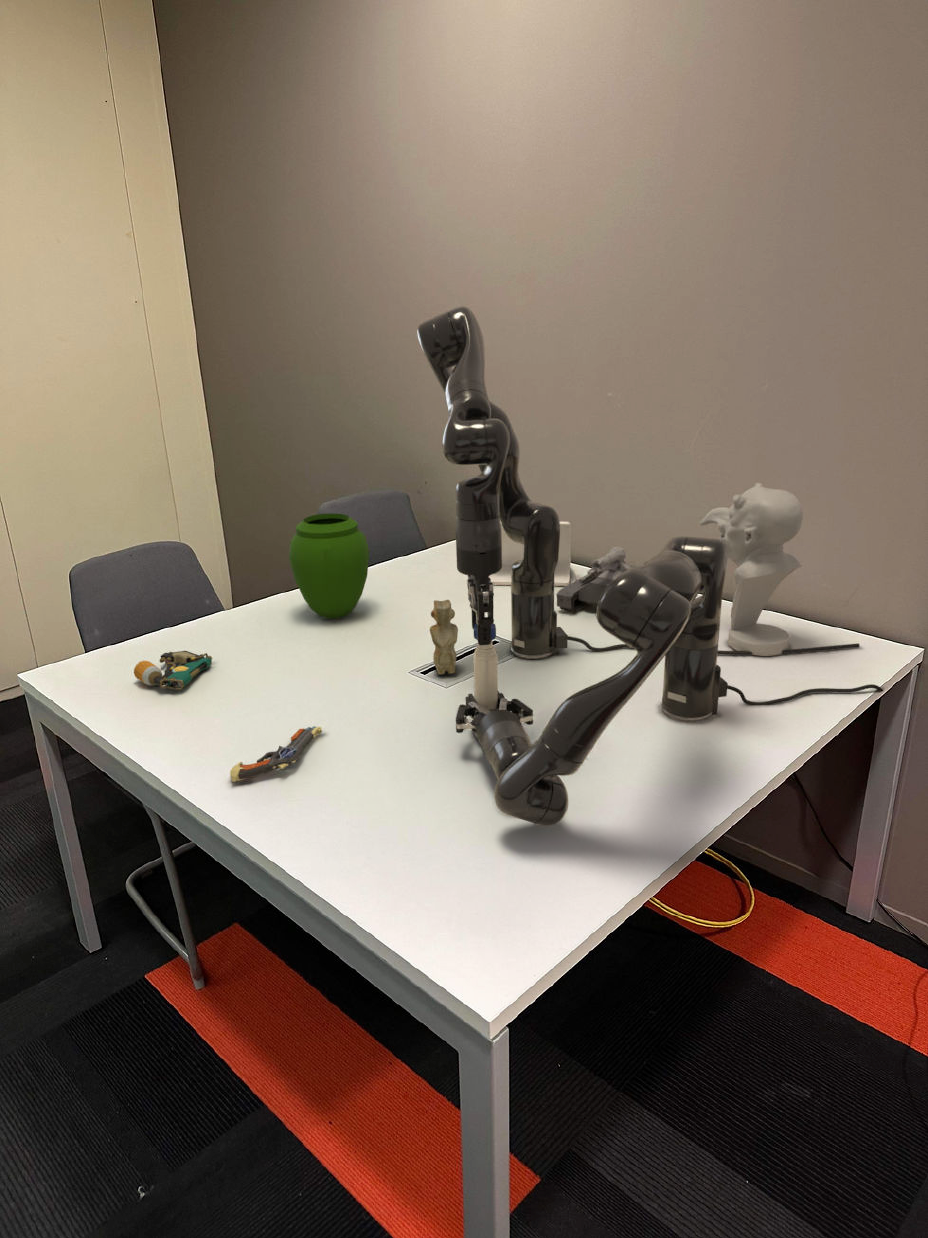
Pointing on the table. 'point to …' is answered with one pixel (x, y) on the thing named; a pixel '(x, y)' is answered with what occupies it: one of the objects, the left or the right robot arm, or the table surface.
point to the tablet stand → (516, 553)
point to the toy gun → (277, 756)
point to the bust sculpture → (758, 561)
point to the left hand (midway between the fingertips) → (481, 636)
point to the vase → (329, 563)
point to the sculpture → (444, 637)
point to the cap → (493, 631)
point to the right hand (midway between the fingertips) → (483, 697)
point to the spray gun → (172, 669)
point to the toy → (593, 581)
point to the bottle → (486, 676)
